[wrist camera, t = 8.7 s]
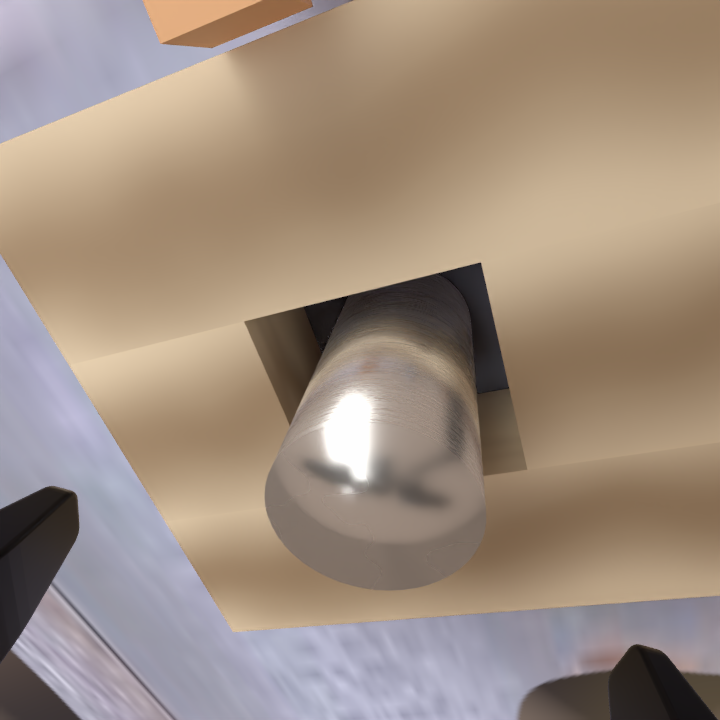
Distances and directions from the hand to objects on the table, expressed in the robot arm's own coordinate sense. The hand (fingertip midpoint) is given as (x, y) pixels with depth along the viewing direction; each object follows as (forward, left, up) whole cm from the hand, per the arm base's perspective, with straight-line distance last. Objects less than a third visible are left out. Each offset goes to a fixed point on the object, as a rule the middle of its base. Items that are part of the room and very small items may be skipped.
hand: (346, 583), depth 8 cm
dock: (0, 0, -9) cm, 9 cm away
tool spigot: (0, 0, -9) cm, 9 cm away
